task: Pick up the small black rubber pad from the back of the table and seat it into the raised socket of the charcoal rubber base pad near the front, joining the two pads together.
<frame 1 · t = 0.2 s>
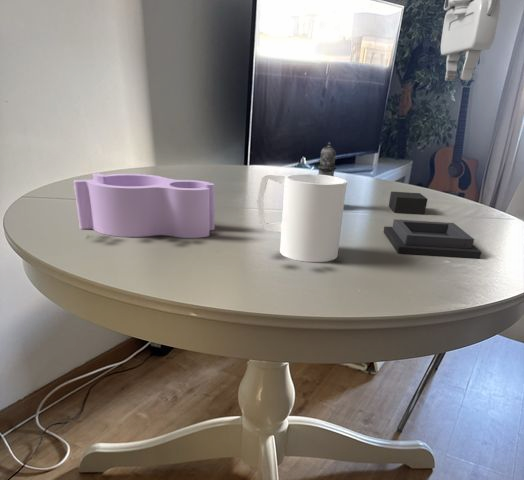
hand: (457, 80, 93), 23 cm above the table, tool pointing down, fingers open, 8 cm apart
salt shaker: (322, 207, 96), on the table
black pad: (406, 210, 97), on the table
cup: (295, 252, 68), on the table
base pad: (428, 244, 75), on the table
clip: (150, 228, 76), on the table
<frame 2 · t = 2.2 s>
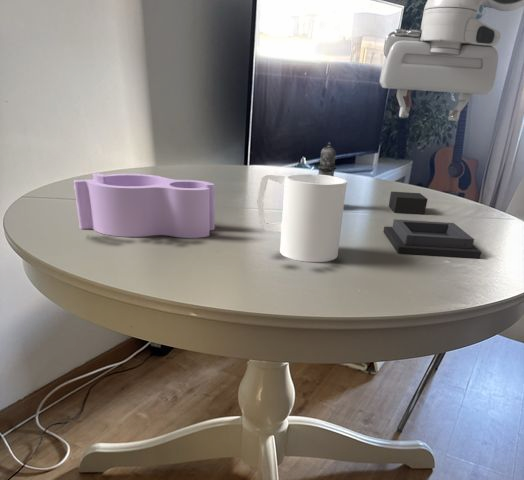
hand: (428, 119, 91), 17 cm above the table, tool pointing down, fingers open, 8 cm apart
nothing on the table moved.
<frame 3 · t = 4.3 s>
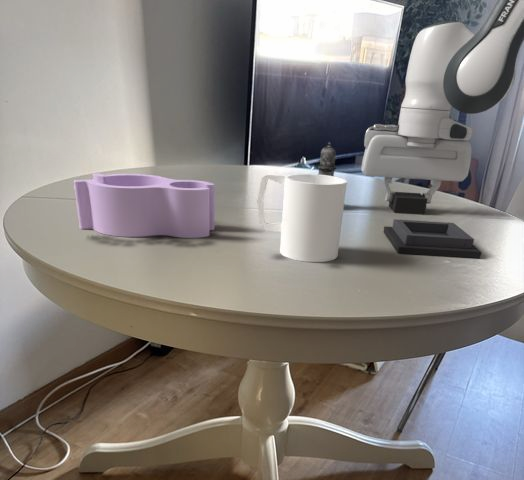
hand: (407, 201, 96), 2 cm above the table, tool pointing down, fingers closed on black pad, 6 cm apart
black pad: (405, 210, 97), on the table, touching gripper
everything else where it was.
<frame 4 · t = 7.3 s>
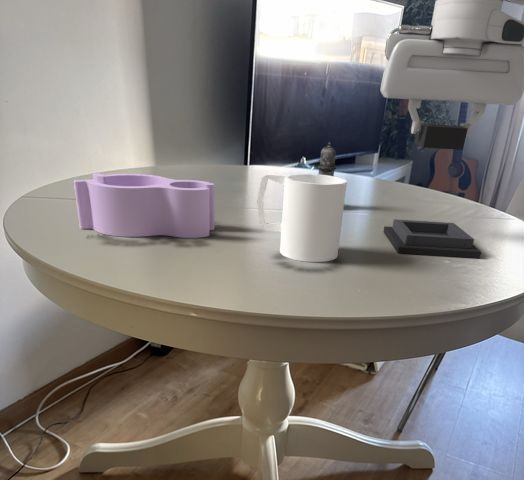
hand: (440, 135, 74), 15 cm above the table, tool pointing down, fingers closed on black pad, 6 cm apart
black pad: (437, 146, 75), point 14 cm above the table, touching gripper
everything else where it was.
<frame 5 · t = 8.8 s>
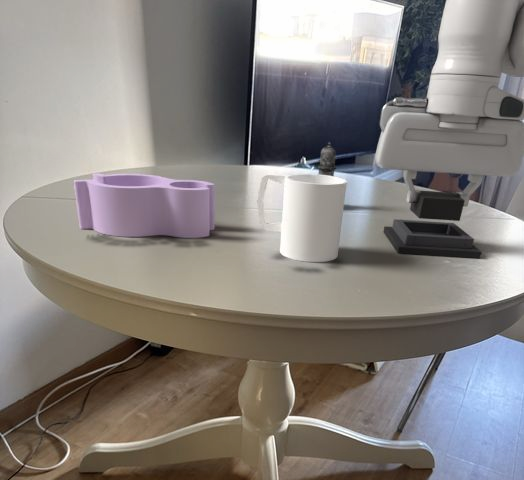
hand: (436, 204, 72), 6 cm above the table, tool pointing down, fingers closed on black pad, 6 cm apart
black pad: (433, 215, 73), point 5 cm above the table, touching gripper
everything else where it was.
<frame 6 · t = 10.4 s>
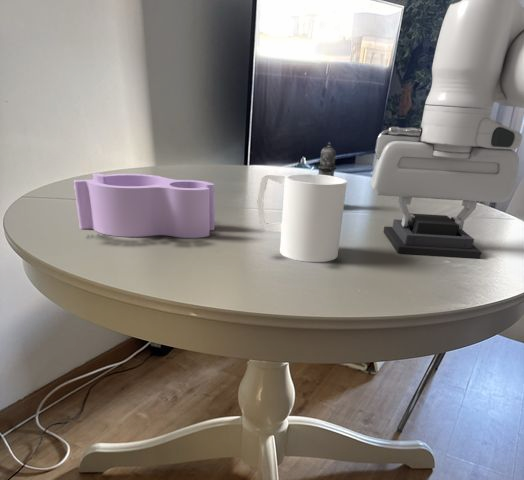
hand: (431, 228, 74), 3 cm above the table, tool pointing down, fingers closed on black pad, 6 cm apart
black pad: (428, 238, 75), point 1 cm above the table, touching base pad, gripper
everything else where it was.
when the fingers open (3 cm above the table, at t = 10.4 s): black pad stays where it is, resting on base pad.
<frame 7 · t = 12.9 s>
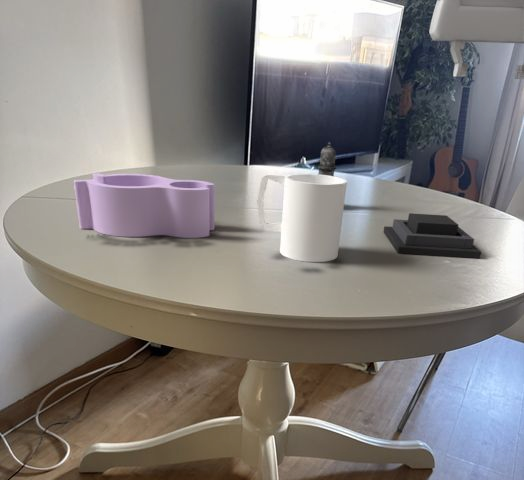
hand: (490, 77, 73), 23 cm above the table, tool pointing down, fingers open, 8 cm apart
black pad: (428, 238, 75), point 1 cm above the table, touching base pad
everything else where it was.
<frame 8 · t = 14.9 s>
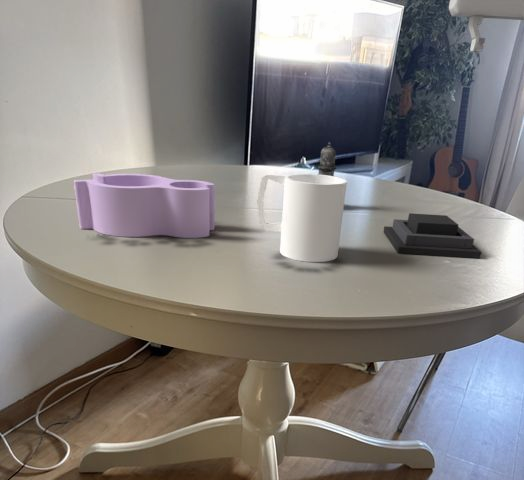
hand: (505, 53, 77), 27 cm above the table, tool pointing down, fingers open, 8 cm apart
nothing on the table moved.
at the end: black pad 0.1 cm off-centre on the base pad, point 1.0 cm above the base pad's base; black pad tilted 0°; the gripper is holding nothing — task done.
